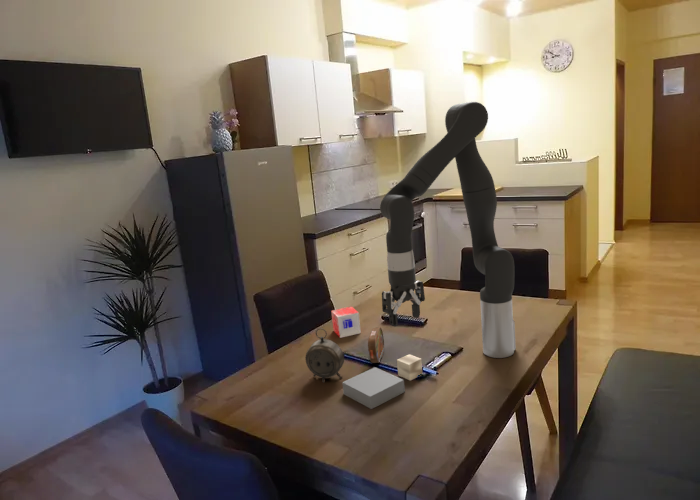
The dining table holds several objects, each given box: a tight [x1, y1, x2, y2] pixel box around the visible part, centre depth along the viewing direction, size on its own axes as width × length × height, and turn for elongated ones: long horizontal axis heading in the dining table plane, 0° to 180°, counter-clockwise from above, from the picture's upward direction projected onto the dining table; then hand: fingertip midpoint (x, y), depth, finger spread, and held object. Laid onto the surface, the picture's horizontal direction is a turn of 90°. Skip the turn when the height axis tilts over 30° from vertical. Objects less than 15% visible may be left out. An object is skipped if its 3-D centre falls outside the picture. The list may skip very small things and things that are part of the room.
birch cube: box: [396, 354, 423, 381], centre depth 152 cm, size 5×5×5 cm
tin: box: [367, 326, 385, 364], centre depth 166 cm, size 15×3×8 cm, turn 168°
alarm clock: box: [305, 327, 345, 383], centre depth 153 cm, size 11×5×16 cm, turn 71°
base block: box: [342, 366, 406, 410], centre depth 144 cm, size 12×12×4 cm
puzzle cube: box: [330, 306, 362, 338], centre depth 190 cm, size 8×8×8 cm
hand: (405, 321), depth 149 cm, fingers open, 8 cm apart
